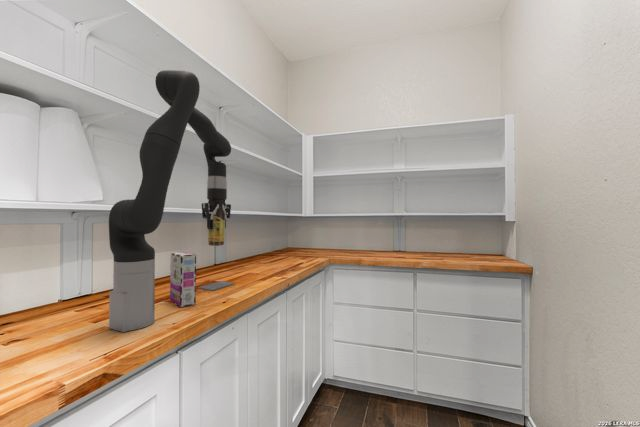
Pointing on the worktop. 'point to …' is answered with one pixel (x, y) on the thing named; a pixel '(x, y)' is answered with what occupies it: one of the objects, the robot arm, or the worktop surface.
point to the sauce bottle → (217, 226)
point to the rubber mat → (216, 286)
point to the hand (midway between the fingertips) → (216, 228)
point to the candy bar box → (183, 279)
